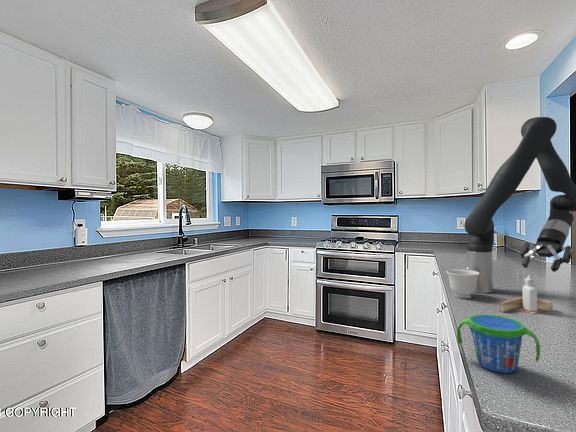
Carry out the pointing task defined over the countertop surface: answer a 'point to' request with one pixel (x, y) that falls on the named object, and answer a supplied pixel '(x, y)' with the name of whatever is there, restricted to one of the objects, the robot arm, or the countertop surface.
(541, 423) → the countertop surface
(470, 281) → the teacup
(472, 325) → the snack cup
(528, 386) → the countertop surface
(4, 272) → the countertop surface
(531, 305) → the eye dropper bottle
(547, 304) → the tan l-shaped piece
